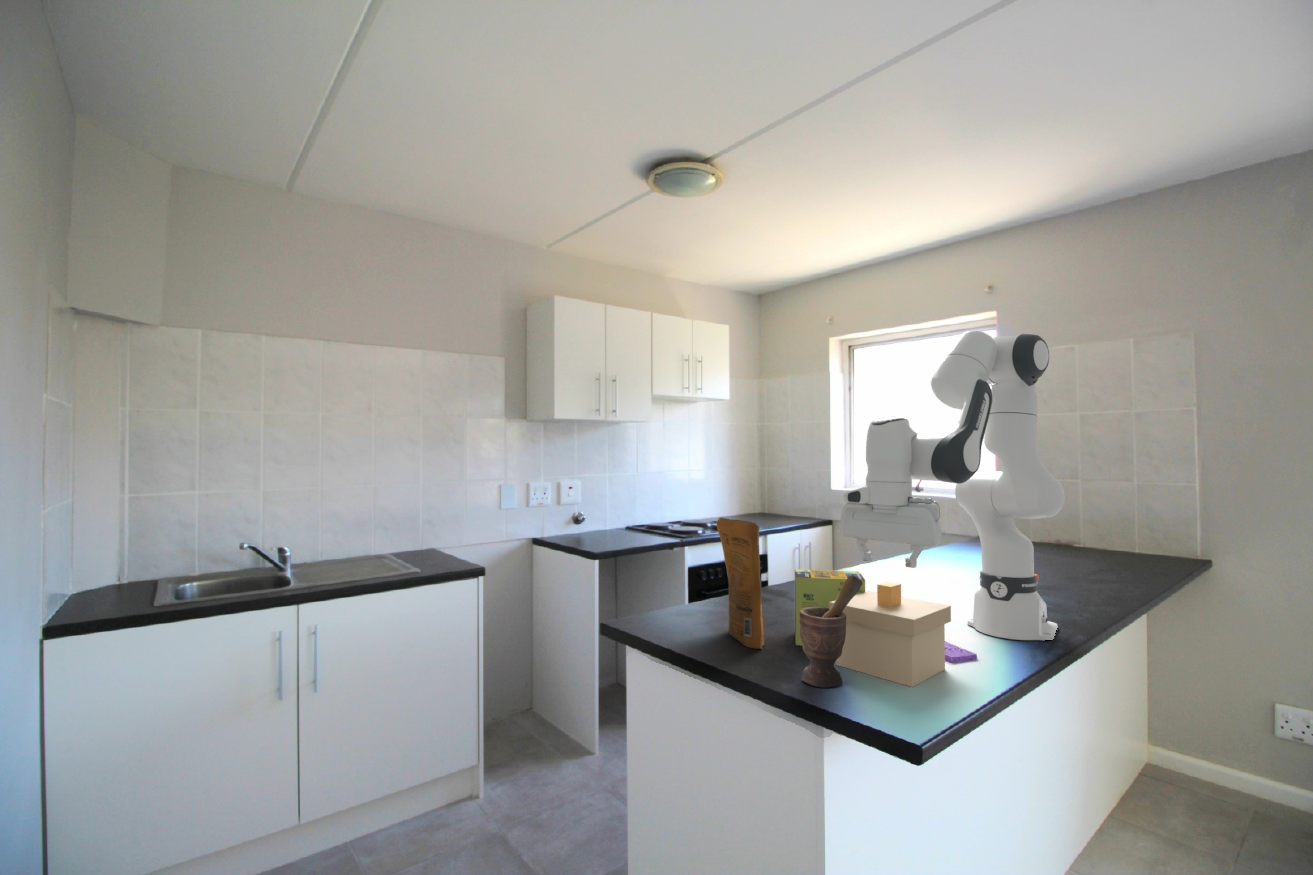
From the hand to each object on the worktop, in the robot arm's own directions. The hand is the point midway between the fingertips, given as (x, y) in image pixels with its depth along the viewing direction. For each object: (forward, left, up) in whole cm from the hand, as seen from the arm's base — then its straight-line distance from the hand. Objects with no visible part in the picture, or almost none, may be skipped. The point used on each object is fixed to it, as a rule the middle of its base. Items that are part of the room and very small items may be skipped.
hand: (888, 563), depth 124 cm
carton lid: (0, 0, -11) cm, 11 cm away
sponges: (-18, +3, -22) cm, 28 cm away
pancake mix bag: (+8, -32, -21) cm, 39 cm away
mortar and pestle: (+15, -4, -21) cm, 26 cm away
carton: (0, 0, -21) cm, 21 cm away
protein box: (-6, -18, -21) cm, 28 cm away
